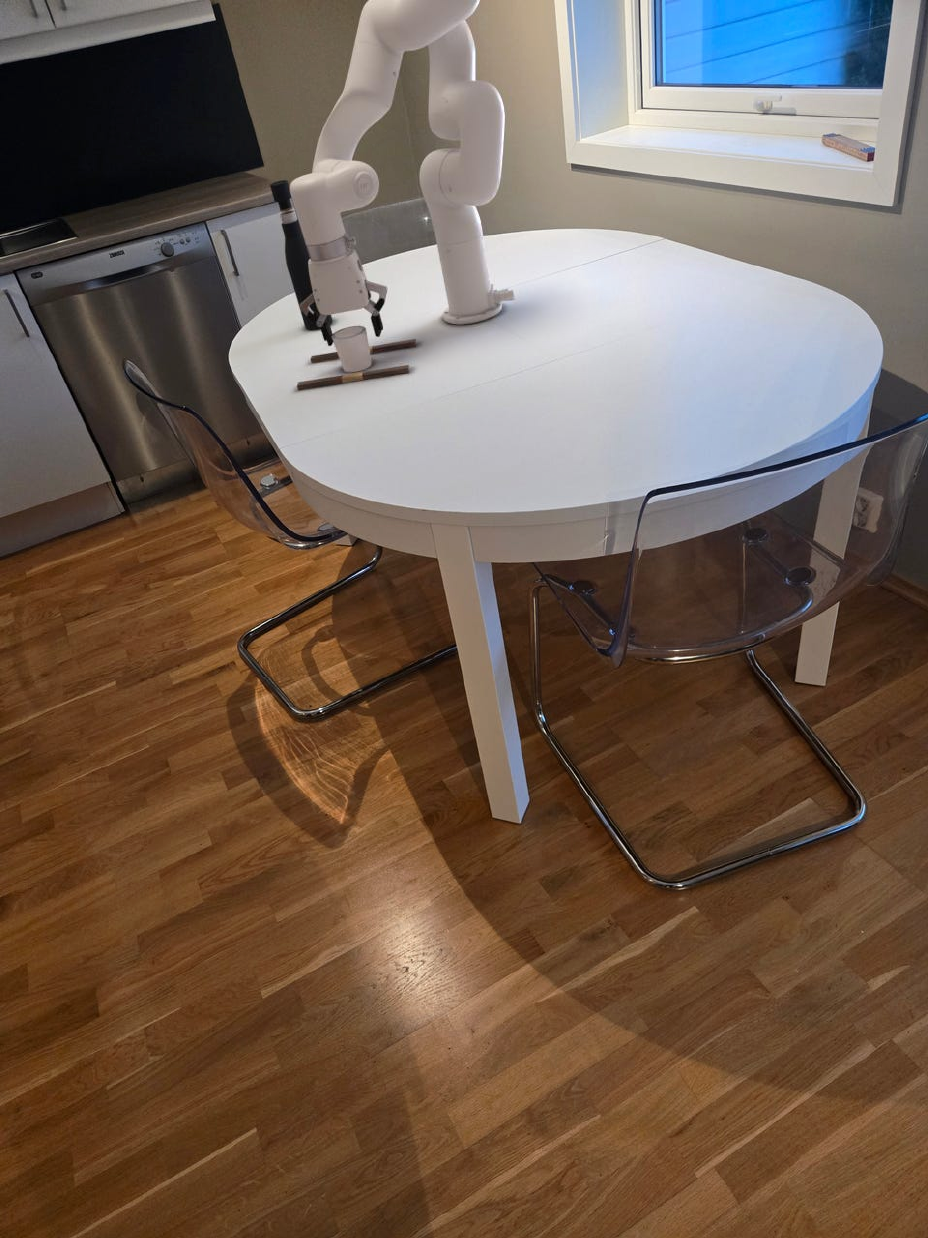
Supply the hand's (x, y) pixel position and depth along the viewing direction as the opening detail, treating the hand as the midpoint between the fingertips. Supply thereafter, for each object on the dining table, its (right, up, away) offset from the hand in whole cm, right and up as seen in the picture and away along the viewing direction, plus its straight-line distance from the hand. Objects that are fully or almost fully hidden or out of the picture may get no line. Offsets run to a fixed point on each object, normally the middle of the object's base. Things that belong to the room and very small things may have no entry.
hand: (355, 338), depth 170 cm
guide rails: (0, -4, +3) cm, 5 cm away
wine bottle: (-12, +12, +29) cm, 33 cm away
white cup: (0, -5, +3) cm, 6 cm away
